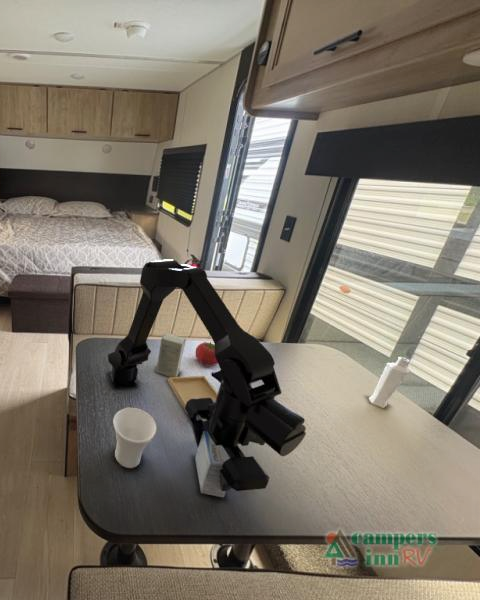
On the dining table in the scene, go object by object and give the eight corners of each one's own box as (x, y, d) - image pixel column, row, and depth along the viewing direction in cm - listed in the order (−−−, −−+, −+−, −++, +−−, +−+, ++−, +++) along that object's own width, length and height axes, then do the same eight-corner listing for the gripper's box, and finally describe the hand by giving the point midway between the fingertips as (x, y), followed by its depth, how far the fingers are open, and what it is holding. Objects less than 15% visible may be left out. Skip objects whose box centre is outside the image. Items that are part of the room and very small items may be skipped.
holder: (191, 421, 75) (192, 416, 75) (167, 381, 89) (168, 377, 88) (232, 419, 77) (234, 414, 76) (203, 379, 90) (204, 375, 90)
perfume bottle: (388, 402, 86) (415, 359, 79) (388, 410, 83) (417, 366, 76) (367, 394, 88) (392, 351, 82) (366, 401, 85) (392, 358, 79)
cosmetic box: (179, 372, 93) (187, 338, 88) (175, 379, 90) (183, 345, 85) (159, 364, 96) (166, 331, 91) (154, 371, 93) (161, 337, 88)
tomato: (208, 354, 103) (213, 335, 100) (224, 368, 96) (230, 348, 93) (188, 356, 101) (193, 337, 98) (202, 371, 94) (208, 350, 91)
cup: (122, 483, 60) (128, 448, 55) (101, 446, 67) (105, 412, 63) (159, 468, 63) (167, 434, 59) (134, 434, 71) (140, 401, 67)
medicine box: (223, 499, 58) (235, 468, 54) (199, 493, 59) (210, 463, 55) (215, 462, 65) (225, 433, 61) (194, 458, 66) (202, 429, 62)
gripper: (313, 450, 47) (280, 512, 53) (241, 374, 64) (222, 428, 70) (248, 456, 45) (222, 519, 52) (191, 376, 62) (177, 431, 69)
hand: (211, 467), depth 61 cm, fingers open, 9 cm apart
